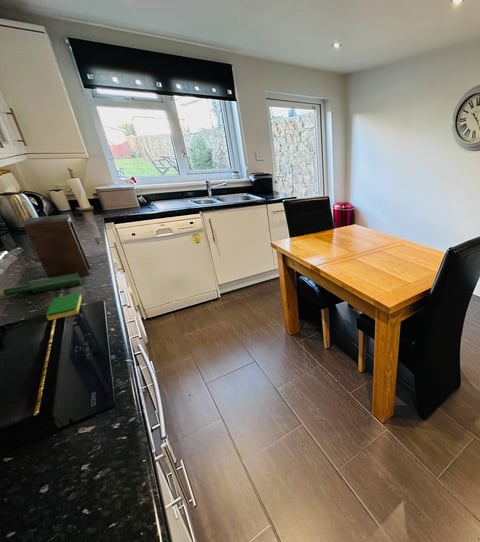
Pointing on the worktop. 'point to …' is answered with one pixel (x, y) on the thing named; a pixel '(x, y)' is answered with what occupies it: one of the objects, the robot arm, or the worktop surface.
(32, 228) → the dark brown block
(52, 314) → the dish sponge
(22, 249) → the robot arm
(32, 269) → the worktop surface
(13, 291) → the bottle
